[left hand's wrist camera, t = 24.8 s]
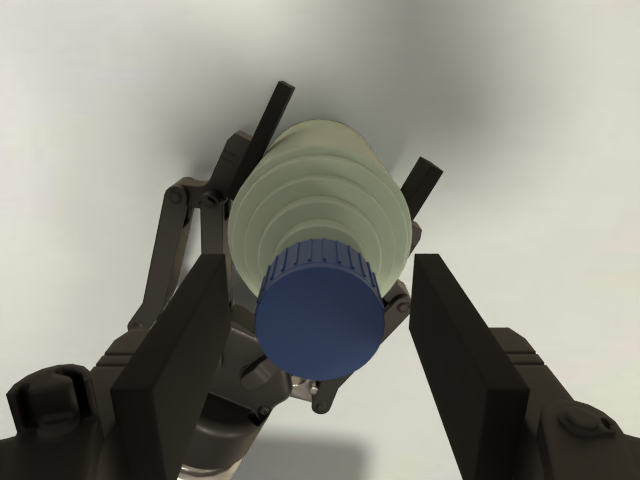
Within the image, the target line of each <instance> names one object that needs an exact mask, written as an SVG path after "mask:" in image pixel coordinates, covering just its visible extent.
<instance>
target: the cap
mask: <svg viewBox="0 0 640 480" xmlns="http://www.w3.org/2000/svg"><path fill="white" fill-rule="evenodd" d="M256 303H257V307H256V310H255V331H256V336H257V339H258V342H259V344H260V347H261V349H262V350H263V352H264V353H265V355H266V356H267V357H268V358H269V359H270V361H272V362H273V363H274V364H275V365H276V366H277V367H279V368H280V369H282V370H283V371H285V372H287V373H289V374H291V375H294V376H296V377H300V378H304V379H309V380H331V379H336V378H340V377H343V376H346V375H348V374H351V373H353V372H354V371H356V370H358V369H359V368H361V367H362V366H363V365H365V364H366V363H367V362H368V361H369V360H370V359H371V358H372V356H373V355H374V354H375V353H376V351H377V349H378V348H379V346H380V343H381V341H382V338H383V334H384V328H385V317H384V312H383V311H385V309H384V305H383V302H382V297H381V293H380V290H379V286H378V283H377V279H376V276H375V273H374V272H373V273H372V270H371V267H370V263H369V262H366V260H365V259H364V258H363V257H362V254H361V253H360V252H359V253H358V252H357V251H356V250H354V249H353V248H351V246H350V245H345V244H343V243H341V242H339V241H338V240H336V241H334V240H329V239H326V238H323V239H312V238H311V239H309V240H306V241H302V242H296V244H294V245H292V246H290V247H288V248H287V247H286V248H285V250H284V251H283V252H282V253H280V254H279V255H278V256H277V255H276V256H275V259H274V261H273V262H272V264H271V265H269V266H268V268H267V272H266V275H265V276H264V277H263V281H262V284H261V288H260V291H259V295H258V298H257V302H256Z"/></svg>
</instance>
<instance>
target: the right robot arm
mask: <svg viewBox="0 0 640 480" xmlns="http://www.w3.org/2000/svg"><path fill="white" fill-rule="evenodd" d="M294 90H295V87H293V86H291V85H289V84H287V83H286V82H284V81H279V82H278V84H277V86H276V88H275V90H274V93H273V95H272V97H271V99H270V101H269V103H268V105H267V108H266V110H265V112H264V114H263V116H262V118H261V121H260V123H259V125H258V127H257V129H256V131H255V134H254V136H253V137H251V136H250V135H248V134H246V133H244V132H242V131H240V130H239V131H238V132H236V133H235V134H234V135H233V136H231V137H230V138H229V139H228V140H227V143H226V145H225V147H224V150H223V152H222V154H221V156H220V158H219V161H218V163H217V165H216V167H215V169H214V172H213V174H212V176H211V178H210V180H208V181H199V180H194V179H193V178H191V177H184V178H182V179H181V180H179V181H178V182H176V183H175V184H174V185H172V186H171V187H169V188H168V189H167V190H166V192H165V195H164V200H163V205H162V210H161V215H160V220H159V225H158V230H157V234H156V239H155V244H154V249H153V254H152V259H151V264H150V269H149V274H148V279H147V284H146V289H145V294H144V299H143V303H142V305H141V306H140V308H139V309H138V310H137V312H136V313H135V315H134V316H133V318H132V319H131V320H130V322H129V323H128V331H129V330H131V329H151V328H152V326H153V325H154V323H155V322H156V320H157V319H158V317H159V316H160V314H161V313H162V311H163V310H164V308H165V307H166V306H167V304H168V303H169V300H170V299H171V297H172V296H173V294H174V291H175V289H176V286H177V282H178V277H179V273H180V269H181V264H182V260H183V255H184V251H185V247H186V242H187V238H188V233H189V229H190V224H191V220H192V216H193V211H194V208H200V215H201V252H202V254H225V257H226V270H227V283H228V295H229V308H230V320H231V330H230V333H229V336H228V338H227V341H226V344H225V347H224V350H223V352H222V355H221V358H220V361H219V364H218V366H217V369H216V372H215V375H214V378H213V381H212V383H211V386H210V389H209V392H208V395H207V397H206V400H205V403H204V406H203V409H202V411H201V414H200V417H199V420H198V423H197V425H196V428H195V431H194V434H193V437H192V439H191V442H190V445H189V448H188V451H187V454H186V456H185V459H184V462H183V465H182V468H181V470H180V473H179V476H178V479H177V480H230V479H231V478H232V476H233V475H234V473H235V471H236V470H237V468H238V467H239V465H240V463H241V462H242V459H243V457H244V455H245V454H246V453H247V451H248V450H249V448H250V446H251V445H252V443H253V441H254V440H255V438H256V436H257V435H258V433H259V431H260V430H261V428H262V426H263V425H264V423H265V422H266V420H267V418H268V417H269V415H270V413H271V411H272V410H273V408H274V407H275V406H276V405H278V404H279V403H281V402H283V401H285V400H286V399H287V398H288V397H289V396H290V397H294V398H298V399H302V400H305V401H309V402H312V410H313V411H314V412H315V413H317V414H325V413H327V412H328V411H329V409H330V407H331V405H332V402H333V400H334V398H335V395H336V393H337V390H338V388H339V387H340V386H341V385H342V384H343V383H344V382H345V381H346V380H347V379H348V378H349V377H350V376H351V375H352V374H353V373H354V372H355V371H354V372H353V373H351V374H348V375H346V376H343V377H340V378H336V379H331V380H309V379H304V378H300V377H296V376H294V375H291V374H289V373H287V372H285V371H283V370H282V369H280V368H279V367H277V366H276V365H275V364H274V363H273V362H272V361H270V359H269V358H268V357H267V356H266V355H265V353H264V352H263V350H262V349H261V347H260V344H259V342H258V339H257V336H256V331H255V315H254V314H252V313H251V312H250V311H249V310H247V309H246V308H244V307H241V306H239V305H237V304H235V306H234V307H233V288H232V286H231V254H230V249H229V244H228V221H229V216H230V211H231V200H233V201H234V199H235V197H236V195H237V194H238V192H239V190H240V188H241V187H242V185H243V184H244V182H245V181H246V180H247V178H248V177H249V176H250V174H251V173H252V171H253V170H254V169H255V167H256V166H257V165H258V163H259V162H260V160H261V159H262V157H263V155H264V152H265V150H266V148H267V146H268V144H269V142H270V140H271V138H272V136H273V134H274V132H275V129H276V127H277V125H278V123H279V121H280V119H281V117H282V115H283V113H284V111H285V108H286V106H287V104H288V102H289V100H290V98H291V96H292V94H293V92H294ZM442 173H443V171H442V170H441V169H439V168H438V167H437V166H435V165H434V164H433V163H431V162H430V161H428V160H426V159H424V158H422V157H420V158H419V159H418V161H417V163H416V164H415V166H414V168H413V169H412V171H411V173H410V174H409V176H408V178H407V179H406V181H405V183H404V184H403V186H402V188H401V189H400V190H401V192H402V194H403V196H404V198H405V200H406V203H407V206H408V209H409V213H410V217H411V224H412V241H411V247H410V252H409V256H410V254H411V253H412V251H413V250H414V247H415V246H416V245H417V243H418V242H419V240H420V237H421V232H422V230H421V228H420V227H419V225H418V224H417V222H415V221H413V220H414V218H415V216H416V215H417V213H418V212H419V210H420V208H421V207H422V205H423V204H424V202H425V200H426V199H427V197H428V196H429V194H430V192H431V191H432V189H433V188H434V186H435V184H436V183H437V181H438V180H439V178H440V177H441V175H442ZM409 256H408V257H409ZM382 302H383V305H384V309H385V311H383V312H384V317H385V328H384V334H383V338H382V341H381V343H382V342H383V341H384V340H385V339H386V338H387V337H388V336H389V335H390V334H391V333H392V332H393V331H394V330H395V329H396V328H397V327H398V326H399V325H400V324H401V322H402V321H403V320H404V319H405V318H406V317H407V316H408V315H409V314H410V308H411V298H410V295H409V293H408V291H407V288H406V286H405V284H404V283H403V282H401V281H400V280H399V279H397V280H396V282H395V283H394V285H393V286H392V287H391V289H390V290H389V291H388V292H387V293H386V294H385V295H384V297H383V298H382ZM381 343H380V344H381Z"/></svg>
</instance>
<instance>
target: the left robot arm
mask: <svg viewBox="0 0 640 480" xmlns="http://www.w3.org/2000/svg"><path fill="white" fill-rule="evenodd" d="M230 330H231V320H230V308H229V295H228V283H227V270H226V257H225V254H201V255H200V257H199V258H198V260H197V261H196V263H195V264H194V266H193V267H192V269H191V270H190V272H189V273H188V274H187V276H186V277H185V279H184V280H183V282H182V283H181V285H180V286H179V288H178V289H177V291H176V292H175V294H174V295H173V297H172V298H171V300H170V301H169V303H168V304H167V306H166V307H165V308H164V310H163V311H162V313H161V314H160V316H159V317H158V319H157V320H156V322H155V323H154V325H153V326H152V328H151V329H131V330H129V331H128V332H126V333H125V334H123V335H122V336H120V337H119V338H117V339H116V340H115V341H114V342H113V343H112V344H111V346H110V347H109V348H108V350H107V351H106V352H105V355H104V356H102V357H101V358H100V360H99V361H98V362H97V364H96V367H93V369H92V370H91V371H89V370H88V369H86V368H85V367H84V366H80V365H75V364H65V365H56V366H52V367H48V368H44V369H41V370H39V371H37V372H34V373H32V374H30V375H28V376H26V377H24V378H23V379H22V380H20V381H19V382H17V383H16V384H14V385H13V387H12V388H11V389H10V390H9V391H8V393H7V394H6V396H7V400H8V403H9V406H10V410H11V413H12V416H13V420H14V423H15V427H16V430H17V435H16V436H14V437H10V438H7V439H2V440H0V480H177V479H178V476H179V473H180V470H181V468H182V465H183V462H184V459H185V456H186V454H187V451H188V448H189V445H190V442H191V439H192V437H193V434H194V431H195V428H196V425H197V423H198V420H199V417H200V414H201V411H202V409H203V406H204V403H205V400H206V397H207V395H208V392H209V389H210V386H211V383H212V381H213V378H214V375H215V372H216V369H217V366H218V364H219V361H220V358H221V355H222V352H223V350H224V347H225V344H226V341H227V338H228V336H229V333H230ZM409 330H410V333H411V336H412V338H413V341H414V344H415V347H416V350H417V352H418V355H419V358H420V361H421V364H422V366H423V369H424V372H425V375H426V378H427V381H428V383H429V386H430V389H431V392H432V395H433V397H434V400H435V403H436V406H437V409H438V411H439V414H440V417H441V420H442V423H443V425H444V428H445V431H446V434H447V437H448V439H449V442H450V445H451V448H452V451H453V454H454V456H455V459H456V462H457V465H458V468H459V470H460V473H461V476H462V479H463V480H640V438H637V437H633V436H629V435H626V434H623V432H622V430H621V429H620V427H619V426H618V425H617V423H616V422H615V421H614V420H613V419H611V418H610V417H609V416H608V415H606V414H605V413H604V412H602V411H600V410H598V409H596V408H594V407H592V406H590V405H588V404H585V403H581V402H578V401H574V400H573V398H572V397H571V396H570V395H569V393H568V392H567V391H566V389H565V388H564V387H563V386H562V384H561V383H560V382H559V381H558V379H557V378H556V377H555V376H554V374H553V373H552V372H551V370H550V369H549V368H548V367H547V365H544V362H543V360H542V359H541V358H540V357H539V355H538V354H536V351H535V350H534V349H533V348H532V346H531V345H530V344H529V343H528V341H527V340H526V339H525V338H524V337H522V336H521V335H519V334H518V333H516V332H514V331H513V330H511V329H510V328H488V326H487V325H486V323H485V322H484V320H483V319H482V317H481V316H480V314H479V313H478V311H477V310H476V308H475V307H474V306H473V304H472V303H471V301H470V300H469V298H468V297H467V295H466V294H465V292H464V291H463V289H462V288H461V286H460V285H459V283H458V282H457V280H456V279H455V277H454V276H453V274H452V273H451V272H450V270H449V269H448V267H447V266H446V264H445V263H444V261H443V260H442V258H441V257H440V255H439V254H415V257H414V270H413V283H412V295H411V308H410V320H409Z"/></svg>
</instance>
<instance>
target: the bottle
mask: <svg viewBox="0 0 640 480" xmlns="http://www.w3.org/2000/svg"><path fill="white" fill-rule="evenodd" d="M311 238H312V239H323V238H326V239H329V240H334V241H336V240H338V241H339V242H341V243H343V244H345V245H350V246H351V248H353V249H354V250H356V251H357V252H358V253H359V252H360V253H361V254H362V257H363V258H364V259H365V260H366V262H369V263H370V267H371V270H372V273H373V272H374V273H375V276H376V279H377V283H378V286H379V290H380V293H381V297H382V298H383V297H384V295H385V294H386V293H387V292H388V291H389V290H390V289H391V287H392V286H393V285H394V283H395V282H396V280H397V279H398V278H399V276H400V274H401V272H402V271H403V269H404V267H405V264H406V262H407V259H408V256H409V252H410V247H411V241H412V224H411V217H410V213H409V209H408V206H407V203H406V200H405V198H404V196H403V194H402V192H401V190H400V189H399V187H398V186H397V184H396V183H395V182H394V180H393V179H392V177H391V176H390V175H389V173H388V172H387V170H386V169H385V168H384V166H383V165H382V164H381V162H380V161H379V159H378V158H377V157H376V155H375V154H374V153H373V151H372V150H371V148H370V147H369V146H368V144H367V143H366V142H365V140H364V139H363V138H362V137H361V136H360V135H359V134H358V133H357V132H355V131H354V130H353V129H351V128H349V127H348V126H346V125H343V124H341V123H339V122H335V121H331V120H309V121H305V122H301V123H299V124H296V125H294V126H292V127H290V128H289V129H287V130H286V131H284V132H283V133H282V134H281V135H280V136H279V137H278V138H277V139H276V140H275V141H274V143H273V144H272V145H271V147H270V148H269V149H268V151H267V152H266V154H265V155H264V156H263V158H262V159H261V160H260V162H259V163H258V165H257V166H256V167H255V169H254V170H253V171H252V173H251V174H250V176H249V177H248V178H247V180H246V181H245V182H244V184H243V185H242V187H241V188H240V190H239V192H238V194H237V195H236V197H235V199H234V202H233V205H232V208H231V211H230V216H229V221H228V244H229V249H230V254H231V257H232V260H233V262H234V265H235V267H236V269H237V271H238V273H239V275H240V277H241V278H242V279H243V281H244V282H245V284H246V285H247V286H248V288H249V289H250V290H251V291H252V293H253V294H254V295H255V296H256V297H257V298H258V295H259V291H260V288H261V284H262V281H263V277H264V276H265V275H266V272H267V268H268V266H269V265H271V264H272V262H273V261H274V259H275V256H276V255H277V256H278V255H279V254H280V253H282V252H283V251H284V250H285V248H286V247H287V248H288V247H290V246H292V245H294V244H296V242H302V241H306V240H309V239H311Z"/></svg>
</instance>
